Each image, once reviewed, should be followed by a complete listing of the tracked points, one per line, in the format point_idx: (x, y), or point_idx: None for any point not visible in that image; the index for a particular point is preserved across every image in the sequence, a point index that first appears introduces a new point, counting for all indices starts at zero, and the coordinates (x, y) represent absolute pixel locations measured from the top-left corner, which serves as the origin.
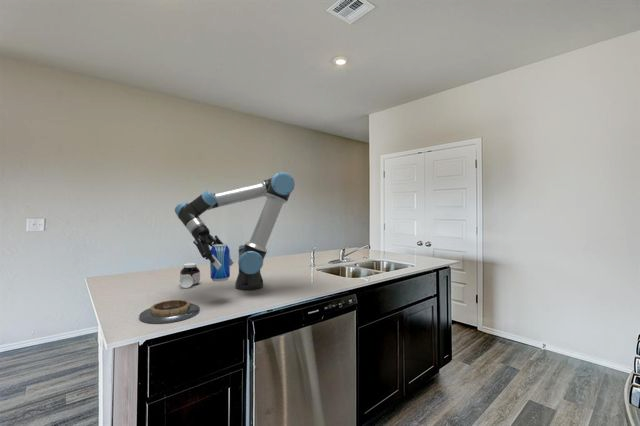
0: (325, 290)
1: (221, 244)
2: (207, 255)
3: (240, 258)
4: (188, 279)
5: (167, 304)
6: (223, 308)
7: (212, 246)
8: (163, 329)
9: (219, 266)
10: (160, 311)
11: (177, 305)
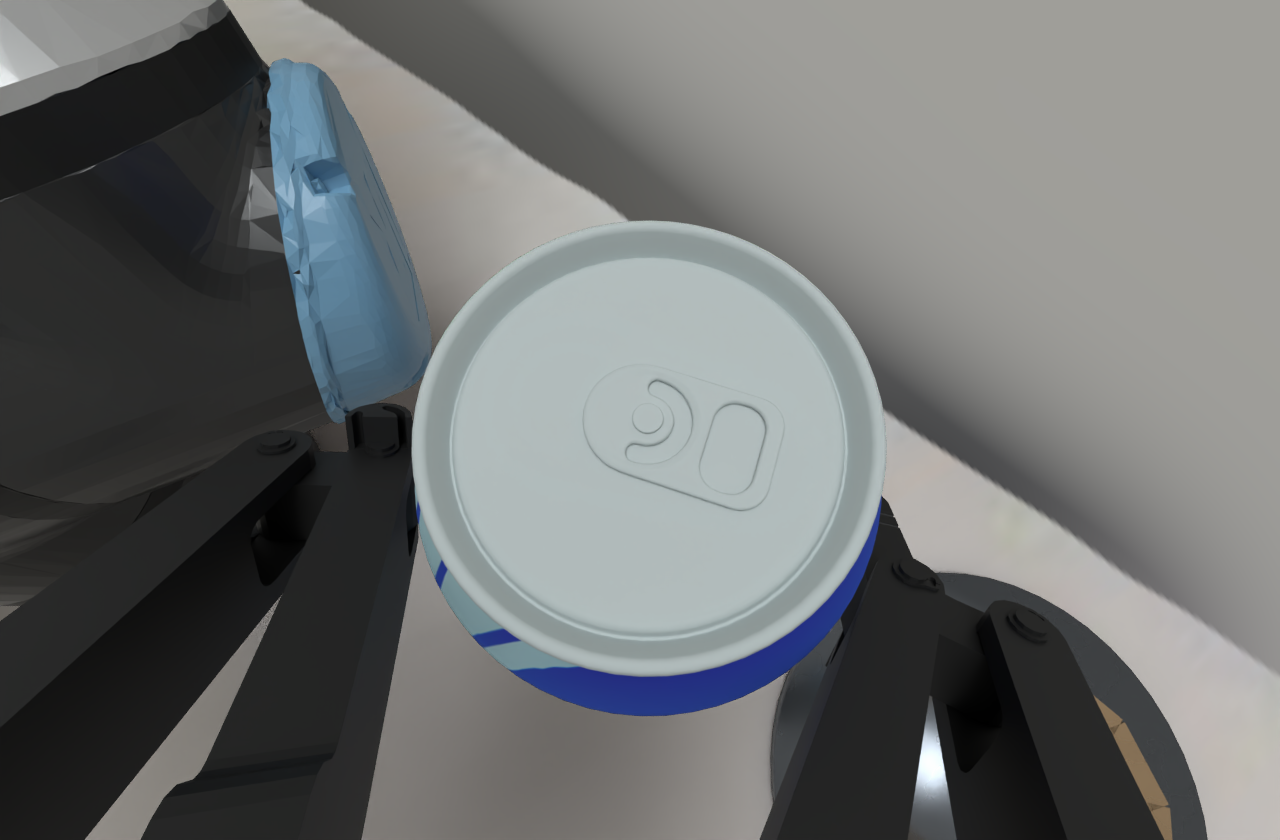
0: (335, 51)
1: (430, 468)
2: (968, 609)
3: (377, 307)
4: None
5: None
6: None
7: (763, 632)
8: (1201, 632)
9: None
10: (1158, 793)
11: None
